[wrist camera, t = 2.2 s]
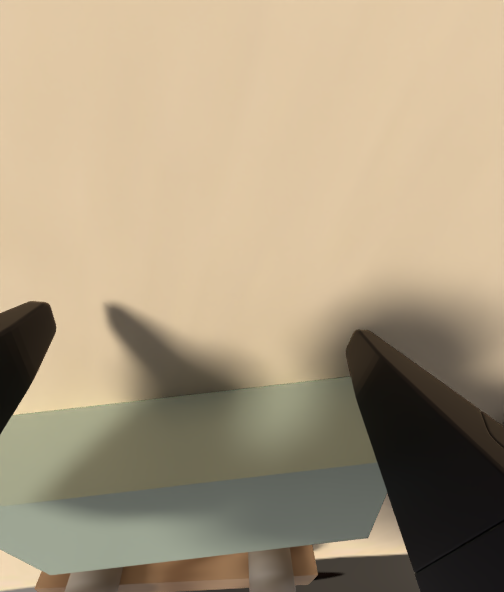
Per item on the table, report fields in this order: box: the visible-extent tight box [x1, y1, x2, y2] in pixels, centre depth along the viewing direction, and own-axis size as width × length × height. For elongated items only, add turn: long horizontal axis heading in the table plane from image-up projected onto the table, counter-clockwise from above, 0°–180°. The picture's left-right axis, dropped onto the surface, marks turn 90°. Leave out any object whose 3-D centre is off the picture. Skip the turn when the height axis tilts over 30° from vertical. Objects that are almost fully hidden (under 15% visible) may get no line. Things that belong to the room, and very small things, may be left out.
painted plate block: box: [0, 376, 387, 575], centre depth 13 cm, size 16×8×4 cm, turn 95°
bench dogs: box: [35, 545, 318, 592], centre depth 20 cm, size 20×6×6 cm, turn 81°
